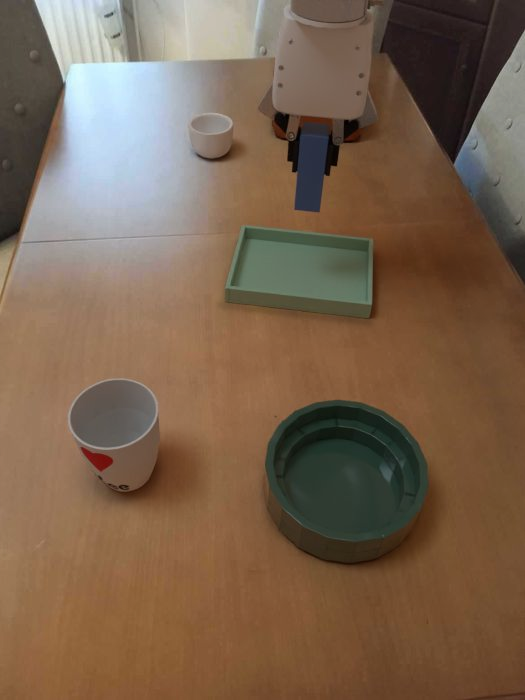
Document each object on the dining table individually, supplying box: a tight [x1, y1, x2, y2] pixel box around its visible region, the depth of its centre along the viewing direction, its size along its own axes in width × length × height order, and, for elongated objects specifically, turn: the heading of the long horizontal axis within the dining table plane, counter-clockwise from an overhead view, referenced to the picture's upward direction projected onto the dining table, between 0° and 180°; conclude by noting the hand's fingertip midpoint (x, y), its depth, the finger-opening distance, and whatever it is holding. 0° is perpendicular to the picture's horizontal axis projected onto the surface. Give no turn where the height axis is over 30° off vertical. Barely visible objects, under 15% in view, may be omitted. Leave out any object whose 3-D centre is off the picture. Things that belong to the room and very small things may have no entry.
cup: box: [67, 377, 161, 493], centre depth 58 cm, size 8×8×10 cm
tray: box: [224, 224, 374, 319], centre depth 83 cm, size 19×14×2 cm
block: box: [293, 122, 330, 213], centre depth 72 cm, size 3×3×10 cm
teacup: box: [187, 112, 234, 159], centre depth 105 cm, size 10×8×5 cm
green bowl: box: [262, 399, 430, 564], centre depth 59 cm, size 16×16×5 cm
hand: (311, 167), depth 72 cm, fingers closed on block, 3 cm apart
